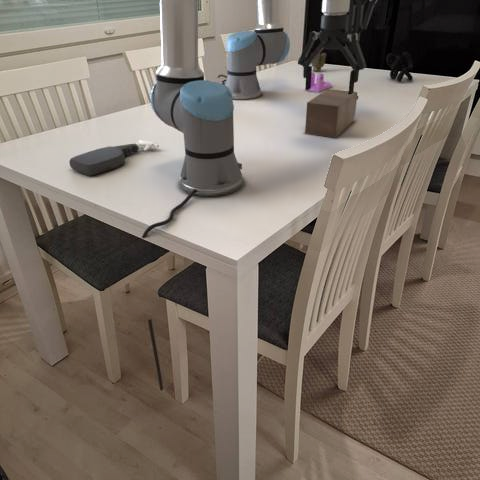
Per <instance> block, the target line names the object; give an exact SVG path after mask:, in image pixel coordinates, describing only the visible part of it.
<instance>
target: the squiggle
mask: <svg viewBox="0 0 480 480" xmlns="http://www.w3.org/2000/svg"><path fill="white" fill-rule="evenodd" d="M401 57H402V59H401ZM391 59H392V60H391ZM393 60H394V61H393ZM385 61H386V64H387V67H390V68H391V70H390V72H389V78H390V79H391V80H395V79H396V81H397V82H399V83H400V82H402V81H403V79H404V76H406V78H407V80H408V81H412V80H413V79H414V77H413V75H412V74H411V73H410V72H409V71H410V70H412V69H413V68H414V64H413V61H412V57H411V54H410V53H409V52H408V51H403V53H402V54H401V55H396V54H394V53H392V52H390V53H387V55H386V57H385ZM406 62H407V65H408V66H407V67H405V66H404V65H405V64H406ZM400 70H401V71H400Z"/></svg>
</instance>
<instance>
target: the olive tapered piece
mask: <svg viewBox="0 0 480 480" xmlns="http://www.w3.org/2000/svg"><path fill="white" fill-rule="evenodd" d="M312 53H313V52H312ZM312 53H310V56H311V55H312ZM326 59H327V53H326V52H320V53H319V55H318V56H317V57H316V58H315V59H314V60H313V62H312V63H311V64H310V65H311V66H312V68H313V71H314V72H321V71H322V68H323V67H324V66H325V64H326Z"/></svg>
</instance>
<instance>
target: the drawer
mask: <svg viewBox="0 0 480 480" xmlns="http://www.w3.org/2000/svg"><path fill="white" fill-rule="evenodd" d="M358 94H359V93H358V92H357V96H356V103H357V102H358V100H359V95H358ZM356 109H357V104H356V105H355V111H356ZM355 116H356V112H355V113H354V117H355Z"/></svg>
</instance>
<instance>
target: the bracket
mask: <svg viewBox="0 0 480 480" xmlns="http://www.w3.org/2000/svg"><path fill="white" fill-rule="evenodd" d="M315 79H316V81H315ZM324 80H325V75H324V73H321V72H319V73H318V74H317V75H316V74H315V72H313V71H312V75H311V88H310V89H309V90H307V91H309V92H316V93H321V92H323V91H326V90H327V89H330V88H331V87H332V82H330V81H324Z"/></svg>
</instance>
